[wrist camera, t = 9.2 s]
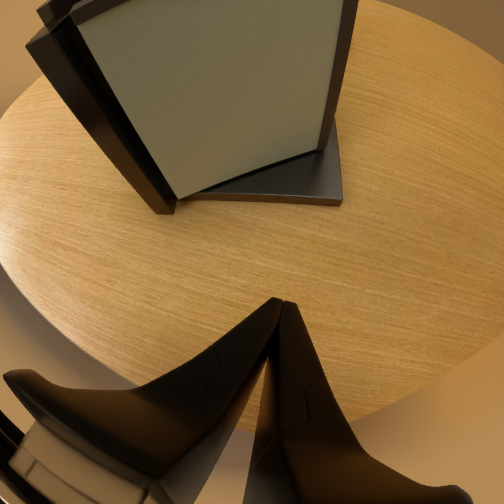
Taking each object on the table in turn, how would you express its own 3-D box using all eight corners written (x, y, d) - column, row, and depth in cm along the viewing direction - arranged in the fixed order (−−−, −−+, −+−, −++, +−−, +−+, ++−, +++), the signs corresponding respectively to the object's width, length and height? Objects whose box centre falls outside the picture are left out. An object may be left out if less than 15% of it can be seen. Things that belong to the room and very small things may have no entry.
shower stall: (340, 222, 21) (448, -11, 3) (149, 214, 22) (5, 36, 5) (328, 98, 24) (353, -66, 7) (182, 97, 26) (132, -53, 8)
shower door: (326, 148, 21) (365, -43, 6) (179, 202, 20) (68, 12, 5) (319, 137, 21) (349, -49, 6) (175, 189, 21) (72, 5, 5)
